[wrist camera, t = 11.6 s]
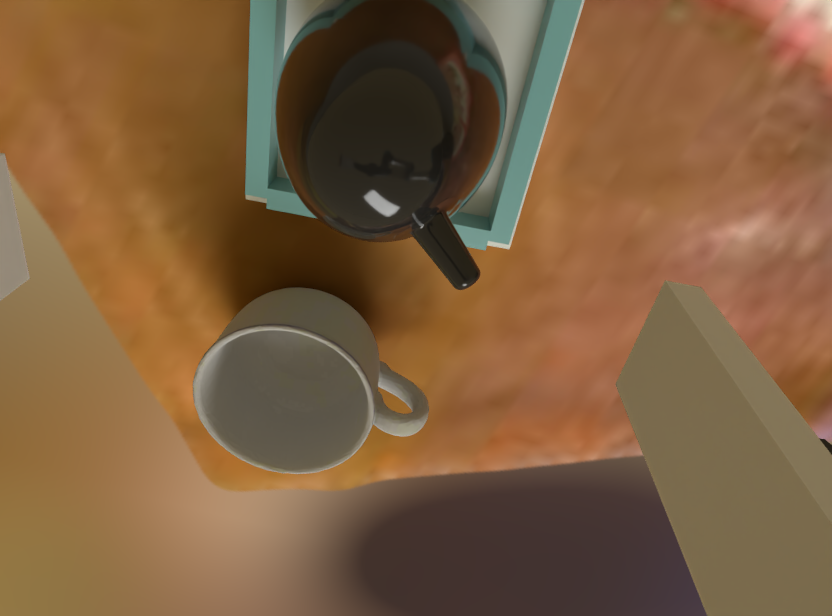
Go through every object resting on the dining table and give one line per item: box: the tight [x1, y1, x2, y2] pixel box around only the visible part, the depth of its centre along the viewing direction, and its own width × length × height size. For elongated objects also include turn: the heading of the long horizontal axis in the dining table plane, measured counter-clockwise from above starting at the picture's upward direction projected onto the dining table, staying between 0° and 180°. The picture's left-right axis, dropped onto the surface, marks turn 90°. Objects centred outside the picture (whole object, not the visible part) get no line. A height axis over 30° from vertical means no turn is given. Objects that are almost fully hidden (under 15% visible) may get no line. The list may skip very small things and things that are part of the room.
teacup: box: [193, 287, 429, 474], centre depth 37 cm, size 14×11×8 cm
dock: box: [245, 0, 585, 250], centre depth 29 cm, size 16×16×3 cm
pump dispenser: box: [274, 0, 508, 290], centre depth 23 cm, size 10×10×15 cm
